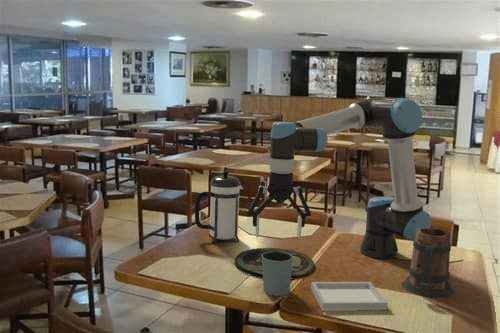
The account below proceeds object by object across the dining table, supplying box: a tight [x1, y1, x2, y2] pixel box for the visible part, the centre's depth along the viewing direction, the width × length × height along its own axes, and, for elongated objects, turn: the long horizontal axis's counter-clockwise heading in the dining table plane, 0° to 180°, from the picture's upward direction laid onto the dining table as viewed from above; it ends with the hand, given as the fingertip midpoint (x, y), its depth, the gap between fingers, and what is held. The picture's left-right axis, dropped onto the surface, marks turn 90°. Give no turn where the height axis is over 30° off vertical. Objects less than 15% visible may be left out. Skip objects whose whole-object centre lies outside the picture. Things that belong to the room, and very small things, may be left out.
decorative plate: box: [234, 247, 315, 279], centre depth 187 cm, size 30×2×30 cm
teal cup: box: [262, 251, 293, 297], centre depth 162 cm, size 10×10×12 cm
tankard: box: [401, 227, 455, 299], centre depth 165 cm, size 24×17×20 cm
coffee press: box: [194, 169, 244, 244], centre depth 211 cm, size 17×16×30 cm
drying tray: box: [310, 281, 389, 312], centre depth 158 cm, size 20×16×2 cm
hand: (277, 236), depth 160 cm, fingers open, 13 cm apart
